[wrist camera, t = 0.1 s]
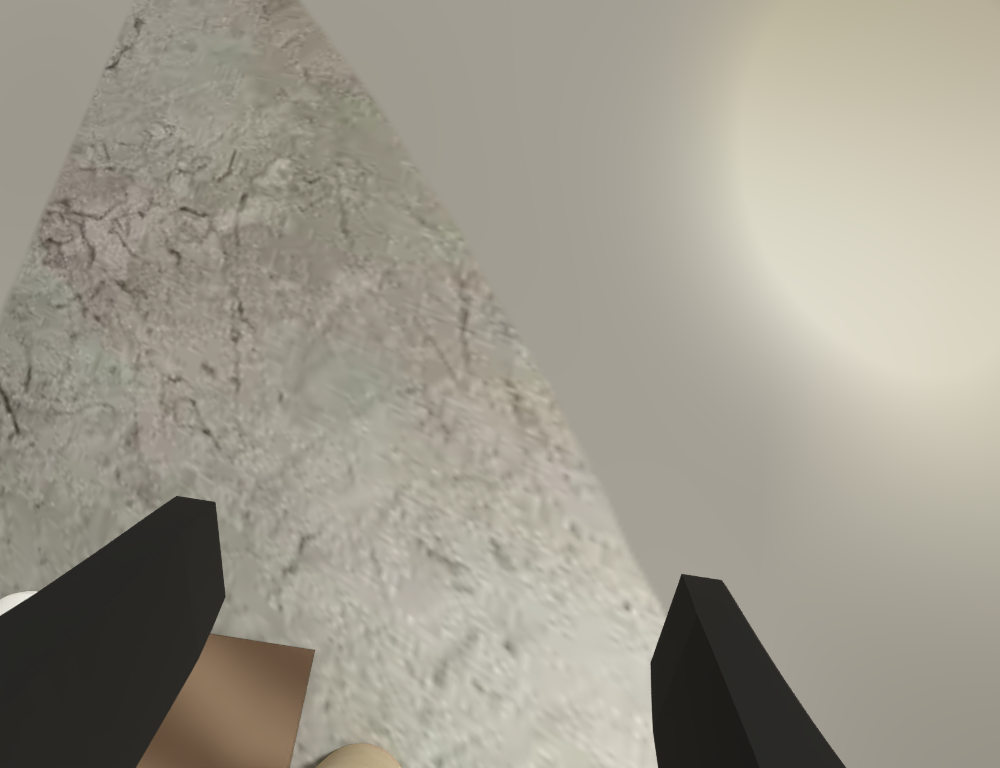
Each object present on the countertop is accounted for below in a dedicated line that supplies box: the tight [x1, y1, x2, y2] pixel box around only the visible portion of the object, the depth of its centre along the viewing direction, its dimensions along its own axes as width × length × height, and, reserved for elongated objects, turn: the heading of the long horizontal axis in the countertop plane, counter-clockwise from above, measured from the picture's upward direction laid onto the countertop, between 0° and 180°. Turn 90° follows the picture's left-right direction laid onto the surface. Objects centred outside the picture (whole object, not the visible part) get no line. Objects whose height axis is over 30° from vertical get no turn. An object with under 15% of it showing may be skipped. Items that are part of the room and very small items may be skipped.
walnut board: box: [136, 634, 315, 768], centre depth 38 cm, size 13×12×1 cm
